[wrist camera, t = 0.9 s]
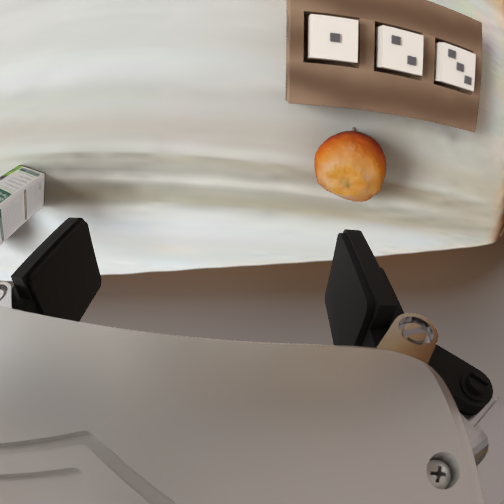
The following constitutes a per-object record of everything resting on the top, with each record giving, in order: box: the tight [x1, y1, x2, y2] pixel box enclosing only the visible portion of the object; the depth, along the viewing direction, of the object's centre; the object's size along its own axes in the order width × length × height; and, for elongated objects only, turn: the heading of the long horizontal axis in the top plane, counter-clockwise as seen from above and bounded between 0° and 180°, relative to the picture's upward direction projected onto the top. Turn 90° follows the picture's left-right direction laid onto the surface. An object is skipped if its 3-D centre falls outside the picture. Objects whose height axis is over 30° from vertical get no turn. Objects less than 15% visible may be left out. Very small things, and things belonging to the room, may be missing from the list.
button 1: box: [307, 14, 358, 63], centre depth 23 cm, size 4×4×2 cm
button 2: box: [375, 25, 423, 76], centre depth 23 cm, size 4×4×2 cm
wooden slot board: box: [286, 0, 482, 132], centre depth 25 cm, size 14×22×5 cm, turn 90°
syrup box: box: [0, 165, 45, 245], centre depth 31 cm, size 6×6×14 cm
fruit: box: [315, 127, 386, 201], centre depth 32 cm, size 8×8×8 cm
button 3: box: [434, 42, 476, 91], centre depth 23 cm, size 4×4×2 cm
